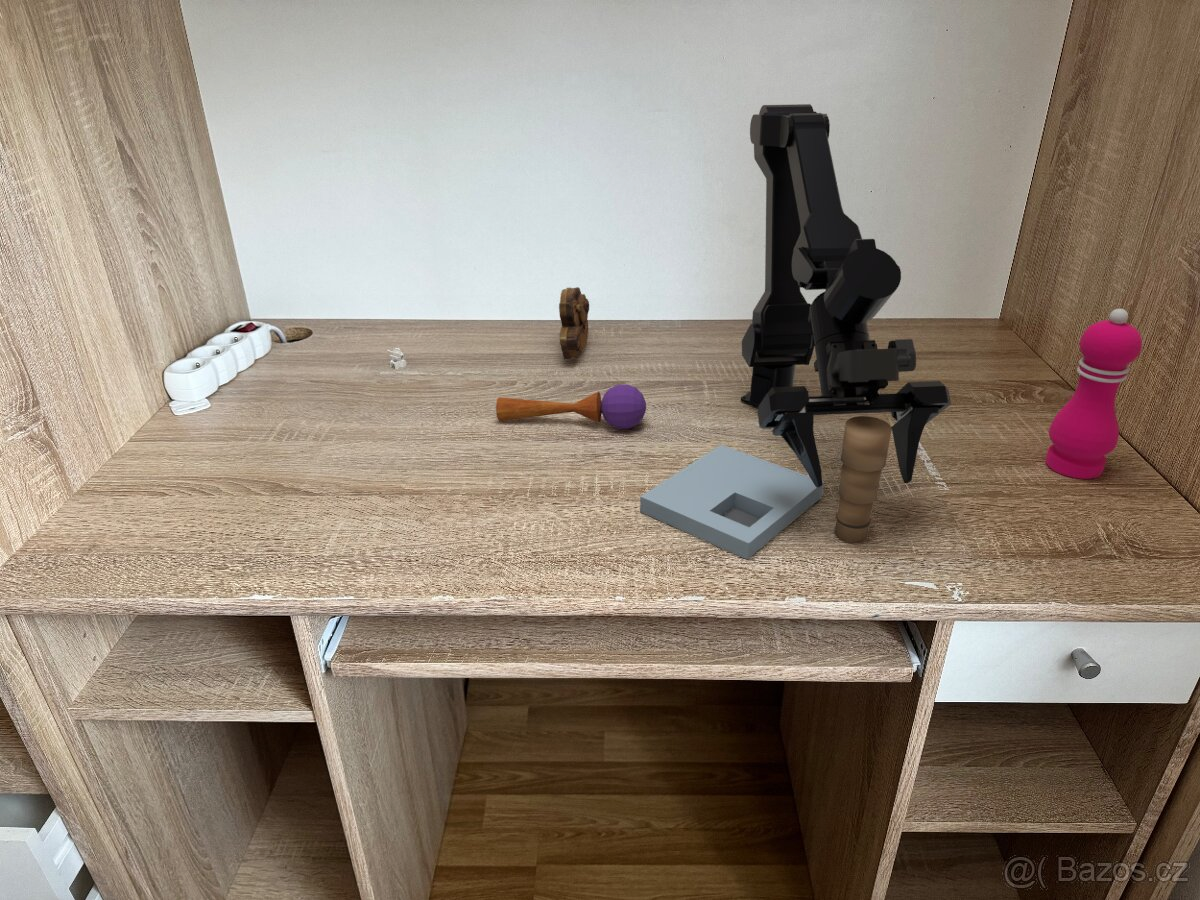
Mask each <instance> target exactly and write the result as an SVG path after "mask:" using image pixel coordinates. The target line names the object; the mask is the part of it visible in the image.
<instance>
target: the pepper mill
mask: <svg viewBox="0 0 1200 900" xmlns="http://www.w3.org/2000/svg"><path fill="white" fill-rule="evenodd" d="M1108 319H1109V320H1105V319H1104V320H1101V321H1097V322H1094V323H1093V324H1091V325H1090V326H1089V327H1087V328H1086V329H1085V330H1084V332H1083V333H1082V335H1081V337H1080V340H1079V350H1080V352H1081V354H1082V356H1083V357H1081V358H1080V359H1079V362H1078V364H1079V365H1078V366H1077V369H1076V370H1077V373H1078V374H1079V379H1078V383H1077V386H1076V388H1075V391H1074V393H1073V395H1072V396H1071V397H1070V399H1069V400H1068V401H1067V402H1066V404H1065V405H1064V406H1063V407H1061V408H1060V410H1059V411H1058V412H1057V413H1056V415H1055V416H1054V418H1053V420H1052V421H1051V424H1050V426H1049V429H1048V435H1049V439H1050V440H1051V441H1050V442H1051V443H1052V444H1051V445H1050V446H1049V447H1048V449H1047V452H1046V456H1045V464H1046V465H1047V466H1048V468H1050V469H1051V471H1054V472H1056V473H1058V474H1060V475H1062V476H1065V477H1069V478H1074V479H1080V480H1090V479H1096V478H1099V477H1100V476H1101V475H1102V474H1103V472H1104V470H1105V467H1106V463H1107V458H1106V456H1107V455H1109V454H1110V453H1111V452H1113V451H1114V450H1115V449H1116V447H1117V445H1118V440H1119V436H1120V429H1119V422H1118V418H1117V415H1116V408H1115V407H1116V406H1115V405H1116V396H1117V393H1118V390H1119V387H1120V385H1121V383H1122V382H1124V381H1125V380H1127V378H1128V372H1130V366H1129V364H1130V363H1133V362H1134V361H1135V360H1136V359H1137V358H1138V357H1139V356H1140V353H1141V351H1142V347H1143V340H1142V336H1141V334H1140V332H1139V330H1138V329H1136V328H1135V327H1134V326H1133V325H1131V324H1129V323H1127V321H1128V319H1129V314H1128V311H1127V310H1125V309H1124V308H1115V309H1114V310H1112V311H1111V312H1110V314H1109V317H1108Z"/></svg>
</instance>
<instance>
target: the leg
mask: <svg viewBox="0 0 1200 900" xmlns="http://www.w3.org/2000/svg"><path fill="white" fill-rule="evenodd" d="M891 435H892V426H891V424H890V423H888V422H887V421H885V420H883V419H882V418H881V419H880V418H878V417H875V416H874V417H873V416H866V415H865V416H864V415H861V416H853V417H850V418H848V419H847V420H846V421H845V426H844V432H843V438H842V439H843V440H842V445H841V452H840V462H841V470H840V477H839V482H838V483H839V484H838V490H837V494H838V496H839V500H838V506H837V512H836V513H835V525H834V526H835V527H834V536H835V537H836V538H837V539H838V540H840V541H841V542H844V543H845V544H846V543H847V544H852V545H853V544H857V545H858V544H863V543H865V542H866V541H867V540H868V536H869V529H870V525H871V523H872V512H873V507H874V502H876V500H877V498H878V494H879V488H880V482H881V481H880V480H881V478H882V477H881V476H882V470H883V469H884V468H885V467H886V463H887V458H888V452H889V447H890V440H891Z"/></svg>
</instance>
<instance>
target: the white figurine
mask: <svg viewBox="0 0 1200 900" xmlns="http://www.w3.org/2000/svg"><path fill="white" fill-rule="evenodd" d="M387 352H390V353H391V354H390V355H389V357H392V358H391V360H390V361H389V364H390V365H389V367H390V368H392V367H394V369H395V370H399V368H401V367H402V368H405V367H406V366H407V360H405V356H404V353H403V352H402V350H401V349H400V348H399V347H392V350H390V349H387Z"/></svg>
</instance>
